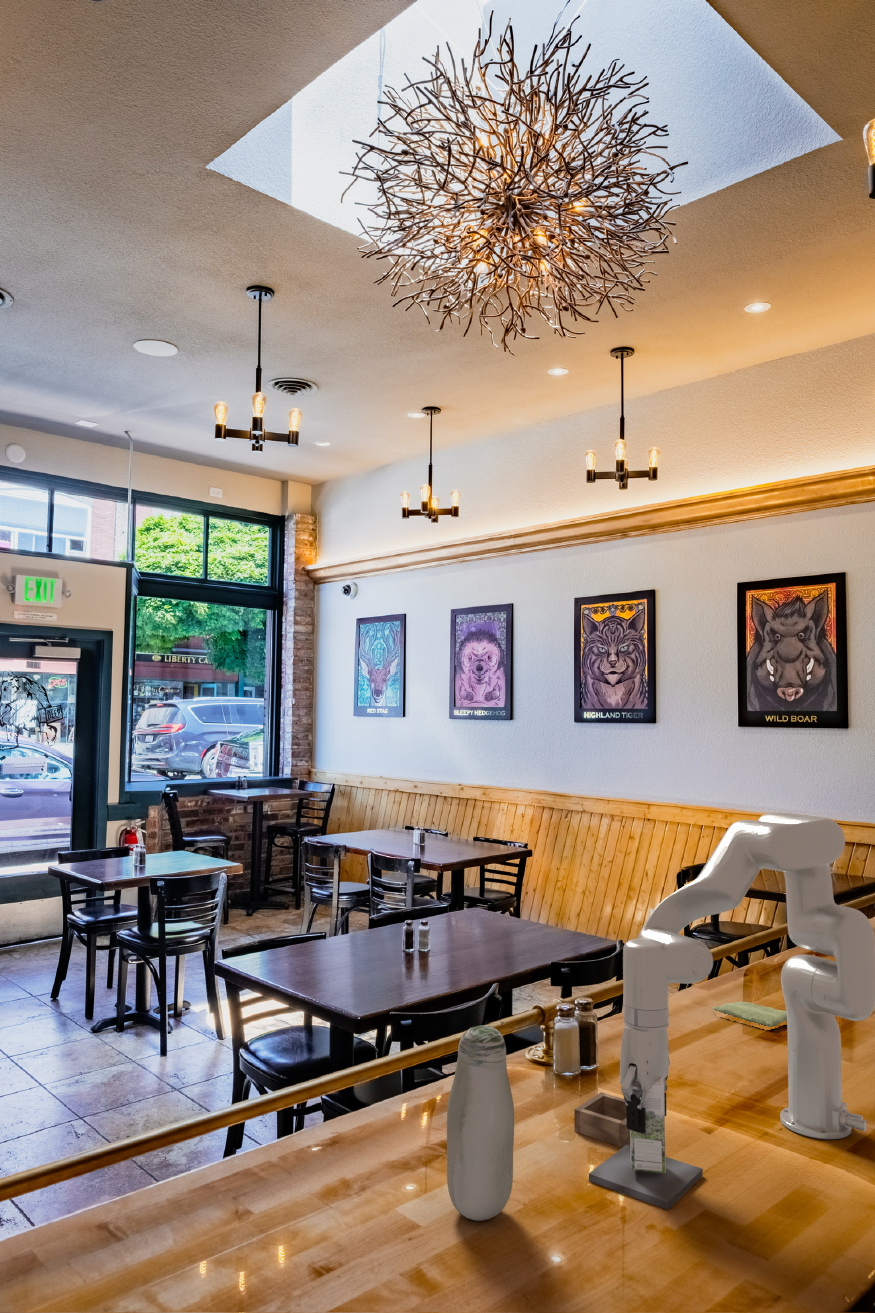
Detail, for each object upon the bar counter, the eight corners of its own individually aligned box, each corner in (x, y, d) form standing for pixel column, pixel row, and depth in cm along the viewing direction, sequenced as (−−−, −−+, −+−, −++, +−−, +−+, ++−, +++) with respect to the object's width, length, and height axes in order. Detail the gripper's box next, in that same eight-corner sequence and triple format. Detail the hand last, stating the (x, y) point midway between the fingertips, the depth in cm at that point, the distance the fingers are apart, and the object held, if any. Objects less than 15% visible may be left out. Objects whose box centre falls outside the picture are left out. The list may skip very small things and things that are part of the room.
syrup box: (665, 1160, 154) (663, 1071, 155) (666, 1175, 148) (664, 1082, 150) (631, 1157, 155) (629, 1068, 157) (630, 1172, 149) (628, 1080, 151)
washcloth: (738, 1008, 247) (738, 996, 248) (798, 1025, 233) (797, 1012, 234) (709, 1016, 239) (709, 1004, 240) (769, 1035, 225) (769, 1022, 226)
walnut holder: (650, 1128, 171) (650, 1106, 171) (625, 1148, 162) (625, 1125, 163) (601, 1113, 177) (601, 1092, 177) (574, 1131, 169) (574, 1109, 169)
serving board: (702, 1176, 153) (702, 1168, 153) (667, 1210, 142) (667, 1202, 142) (627, 1151, 161) (627, 1144, 161) (588, 1181, 150) (588, 1173, 150)
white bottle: (493, 1239, 133) (495, 1043, 135) (434, 1218, 138) (437, 1030, 140) (523, 1209, 141) (524, 1025, 143) (467, 1191, 147) (469, 1014, 149)
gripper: (647, 999, 163) (648, 1100, 161) (601, 1023, 149) (602, 1134, 148) (687, 1007, 158) (688, 1112, 157) (643, 1033, 145) (644, 1148, 143)
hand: (646, 1122), depth 152 cm, fingers closed on syrup box, 7 cm apart
